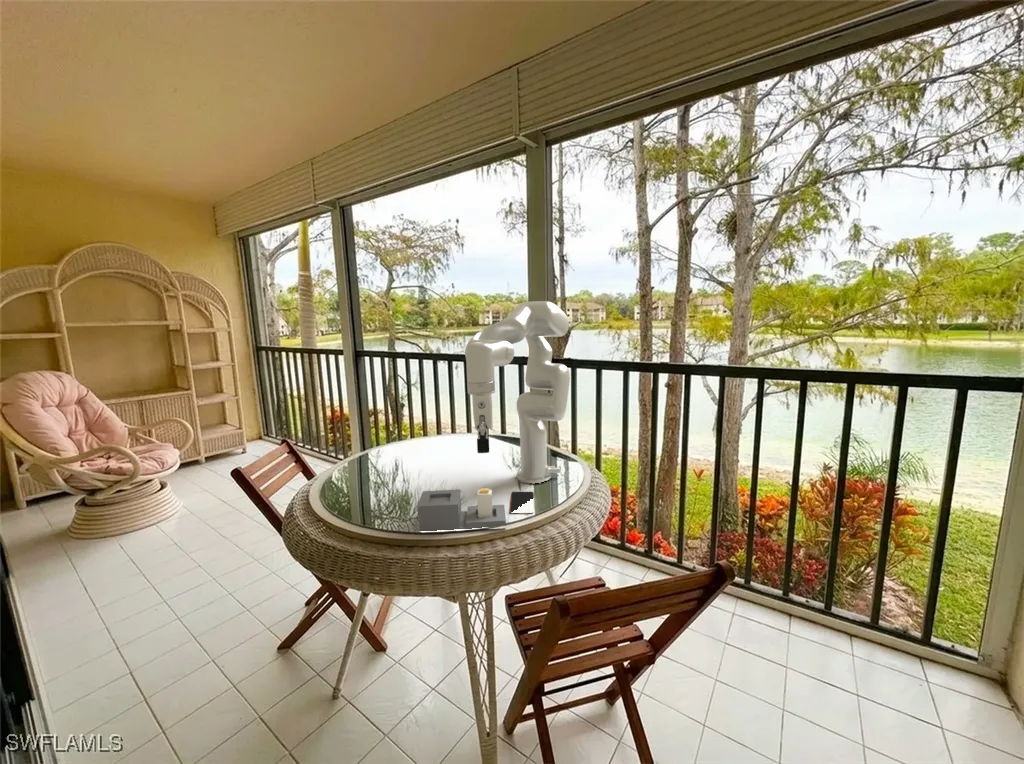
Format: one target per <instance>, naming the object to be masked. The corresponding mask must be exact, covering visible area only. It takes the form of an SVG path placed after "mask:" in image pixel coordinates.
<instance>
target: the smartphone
mask: <svg viewBox="0 0 1024 764" xmlns="http://www.w3.org/2000/svg"><path fill="white" fill-rule="evenodd" d="M533 498H534V499H535V492H534V491H512V492H511V497H510V507H509V512H510V511H511V512H513V511H514V510H517V509H518V507H519V506H520V507H521V506H522V504H525V503H527V501H530V499H533Z"/></svg>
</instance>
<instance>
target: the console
mask: <svg viewBox="0 0 1024 764" xmlns="http://www.w3.org/2000/svg"><path fill="white" fill-rule="evenodd" d="M461 500H462V499H461V489H440V490H423V491H422V493H421V495H420V498H419V502H418V504H417V519H418V532H419V531H437V530H454V529H472V528H482V527H494V526H500V525H506V526H507V519H506V509H505V508H506V507H505V504H492V517H487V518H478V505H471V506H469V505H468V506H467V509H466V511H465V510H464V511H462V504H461V503H462V502H461Z"/></svg>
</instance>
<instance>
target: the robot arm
mask: <svg viewBox="0 0 1024 764" xmlns="http://www.w3.org/2000/svg"><path fill="white" fill-rule="evenodd" d="M569 323H570V322H569V318H568V316H567V315H566V313H565V312H564V311H563V309H561V308H559V306H558V305H557V304H555V303H554V302H552V301H548V300H545V301H543V300H540V301H539V300H538V301H534V300H533V301H524V302H521V303H519V304H517V305H516V307H515V308H514V309H513V310H512V311H511V312H510V313H509V314H508V315H507V316H506V317H505V318H504V319H503V320H500V321H498V322H496V323H493V324H490V325H488V326H487V327H484V328H482V329H481V330H478V332H476V333H475V334H474V335H473V336H472V337H471V338H470V340H468V341H467V344H466V346H465V350H464V353H465V354H464V355H465V360H466V361H465V362H466V381H467V382H466V383H467V384H466V385H467V394H468V395H471V399H472V400H471V401H472V413H473V415H472V416H473V423H474V428H475V429H474V430H476V431H477V438H476V445H477V446H476V449H477V454H489V453H490V437H489V435H490V434H489V430H490V431H491V430H493V429H494V428H493V426H494V422H493V419H494V418H493V398H492V395H493V394H495V393H496V385H495V384H496V383H495V382H496V381H495V367H506V366H507V365H510V363H512V362H513V360H514V357H515V349H514V346H513V344H518V343H519V342H521V341H523V340H524V339H525V340H526V342H527V345H528V358H527V364H526V369H525V379H524V380H525V385H526V386H527V387H528V388H530V389H534V390H545V391H546V390H547V391H552V393H549V392H540V391H539V392H538V391H537V392H536V391H527V392H523V393H521V394H520V395H519V396H518V397H517V401H516V412H517V415H518V416H517V417H518V421H519V442H520V445H519V447H520V470H519V471H518V472H516V479H517V480H518V481H519V482H521V483H524V484H529V483H532V484H531V485H536V484H535V483H539V484H542V483H541V482H544V481H547V480H549V479H550V478H551V479H552V473H553V474H560V473H561V468H560V466H559V467H556V465H548V457H547V456H548V453H547V452H548V451H547V450H548V449H547V447H548V446H547V443H548V441H547V440H548V439H547V436H548V433H547V428H546V425H545V424H544V422H543V421H548V422H549V421H550V422H559V421H562V420H563V419H564V417H565V415H566V412H567V411H566V410H567V406H568V405H567V403H568V398H569V397H568V396H569V389H570V382H571V381H570V379H571V377H570V375H571V374H570V370H569V368H568V367H567V366H566V365H565V364H563V363H555V362H554V363H553V362H552V358H553V348H552V347H551V345H550V342H548V341H547V340H546V338H545V337H547V338H548V337H550V338H551V337H552V338H558V337H560V338H561V337H563V336H565V335H566V334H567V333H568V331H569V328H570V324H569ZM551 479H550V480H551ZM550 480H549V481H550ZM547 482H548V481H547ZM544 483H545V482H544Z"/></svg>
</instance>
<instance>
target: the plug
mask: <svg viewBox="0 0 1024 764" xmlns="http://www.w3.org/2000/svg"><path fill="white" fill-rule="evenodd" d="M476 495H477V506H478V518H487V517H492V505H493V491H492V489H490V488H489V487H488V488H486V487H485V488H480V489H478V490H477V494H476Z"/></svg>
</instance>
